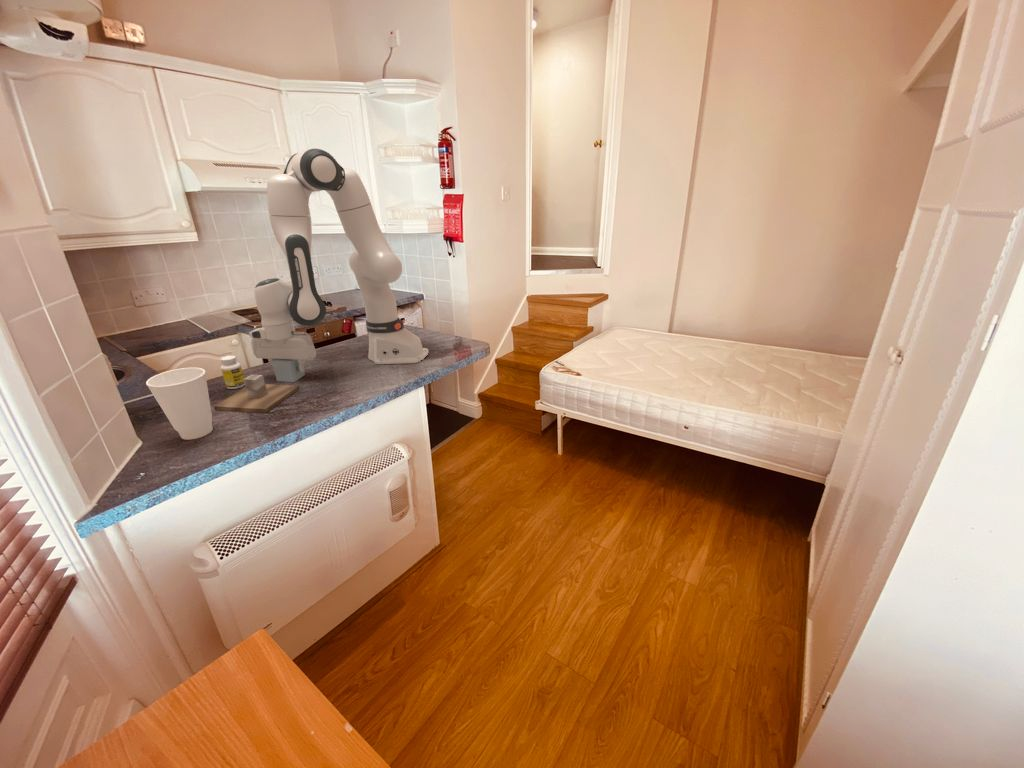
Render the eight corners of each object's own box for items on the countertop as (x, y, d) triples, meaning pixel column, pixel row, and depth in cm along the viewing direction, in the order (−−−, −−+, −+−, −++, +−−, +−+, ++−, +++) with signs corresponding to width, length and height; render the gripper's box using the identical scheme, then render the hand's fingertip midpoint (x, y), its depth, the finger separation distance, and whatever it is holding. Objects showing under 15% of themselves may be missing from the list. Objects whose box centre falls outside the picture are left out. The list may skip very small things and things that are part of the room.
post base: (299, 389, 134) (294, 368, 131) (266, 412, 119) (259, 389, 116) (253, 386, 136) (247, 366, 133) (215, 409, 121) (207, 387, 118)
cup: (169, 430, 111) (147, 374, 105) (222, 417, 118) (204, 363, 111) (168, 450, 102) (143, 390, 96) (225, 435, 109) (206, 378, 102)
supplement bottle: (237, 390, 134) (228, 361, 130) (222, 388, 135) (213, 360, 131) (250, 383, 139) (242, 355, 135) (236, 382, 140) (227, 354, 136)
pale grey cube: (305, 374, 144) (300, 355, 142) (294, 382, 139) (289, 362, 136) (288, 374, 145) (283, 354, 142) (276, 381, 140) (271, 361, 137)
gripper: (315, 328, 137) (323, 368, 143) (257, 327, 139) (268, 366, 145) (304, 334, 131) (313, 375, 137) (244, 333, 134) (255, 373, 139)
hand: (289, 370), depth 141 cm, fingers open, 7 cm apart
